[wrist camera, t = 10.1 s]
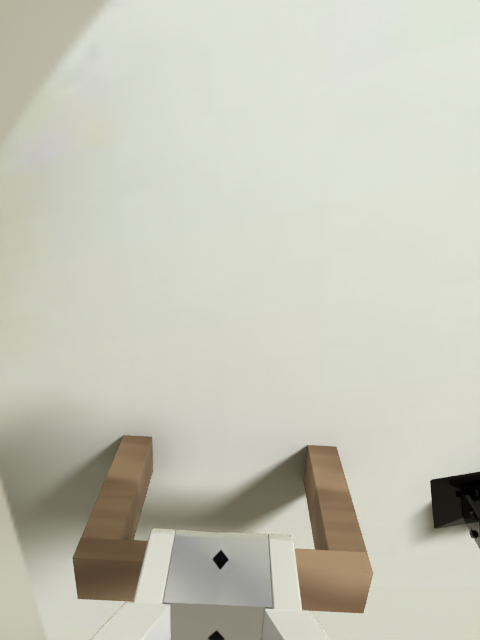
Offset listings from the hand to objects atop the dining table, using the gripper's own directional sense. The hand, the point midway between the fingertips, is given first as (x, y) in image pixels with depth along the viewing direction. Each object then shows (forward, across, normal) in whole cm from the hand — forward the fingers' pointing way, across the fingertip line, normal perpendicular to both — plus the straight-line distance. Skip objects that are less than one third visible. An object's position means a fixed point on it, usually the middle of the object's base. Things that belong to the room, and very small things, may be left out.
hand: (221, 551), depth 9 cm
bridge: (+18, 0, -13) cm, 22 cm away
